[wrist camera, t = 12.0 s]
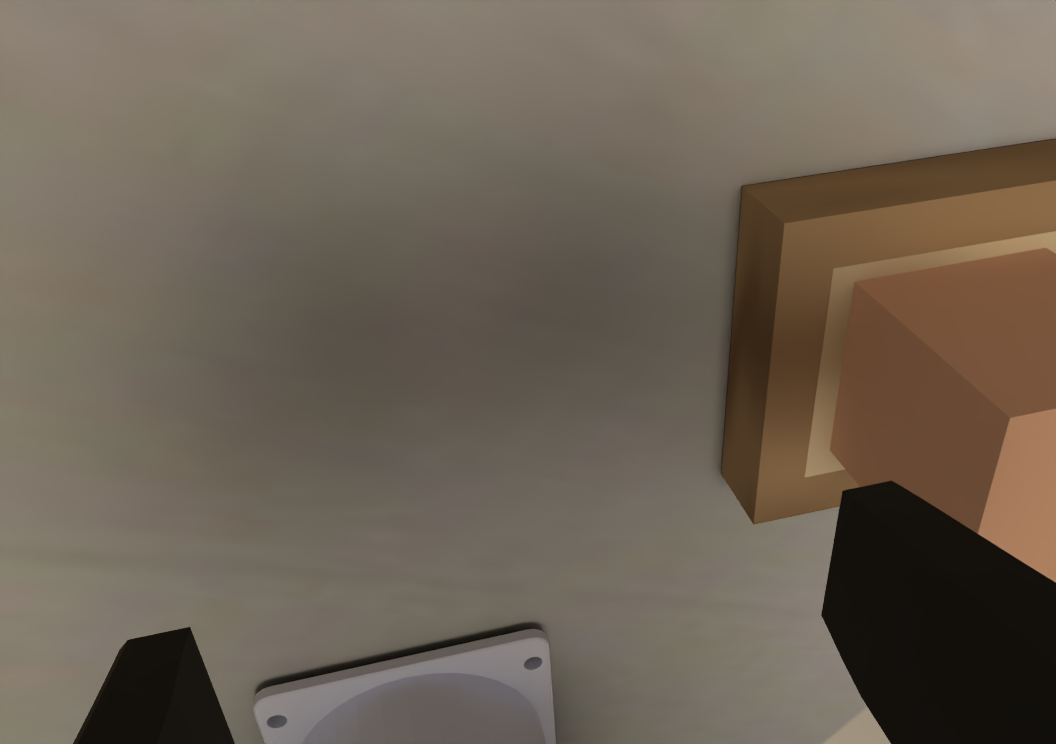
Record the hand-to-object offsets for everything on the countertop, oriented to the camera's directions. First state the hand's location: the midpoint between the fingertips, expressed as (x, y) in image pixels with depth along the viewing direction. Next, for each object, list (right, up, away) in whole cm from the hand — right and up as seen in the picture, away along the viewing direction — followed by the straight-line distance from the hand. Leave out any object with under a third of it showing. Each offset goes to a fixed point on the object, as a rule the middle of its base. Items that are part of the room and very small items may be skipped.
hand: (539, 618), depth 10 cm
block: (+9, +3, +11) cm, 14 cm away
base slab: (+9, +4, +12) cm, 16 cm away
